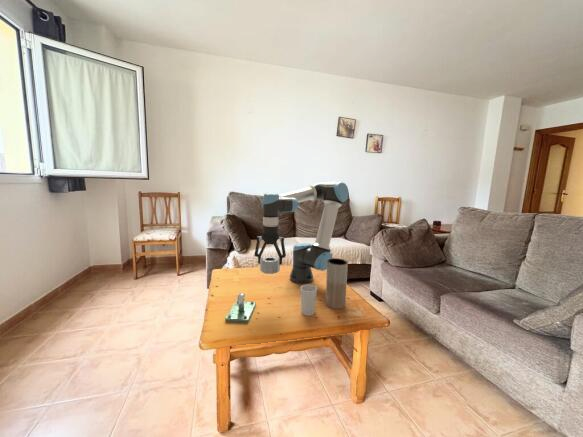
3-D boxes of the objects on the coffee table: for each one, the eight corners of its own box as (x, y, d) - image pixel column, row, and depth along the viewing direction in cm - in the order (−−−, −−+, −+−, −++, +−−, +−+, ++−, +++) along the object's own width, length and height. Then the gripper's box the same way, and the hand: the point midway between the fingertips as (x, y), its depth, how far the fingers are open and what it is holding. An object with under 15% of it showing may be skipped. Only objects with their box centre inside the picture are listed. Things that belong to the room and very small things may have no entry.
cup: (302, 317, 108) (303, 292, 106) (297, 308, 116) (298, 285, 114) (318, 315, 110) (319, 290, 109) (312, 306, 118) (313, 283, 116)
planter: (321, 304, 121) (323, 260, 118) (332, 297, 128) (334, 257, 125) (338, 311, 114) (340, 265, 111) (349, 304, 121) (351, 261, 118)
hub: (278, 268, 122) (279, 257, 121) (276, 274, 114) (277, 262, 113) (263, 267, 123) (263, 256, 122) (260, 273, 115) (260, 261, 114)
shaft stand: (255, 304, 118) (255, 287, 117) (247, 322, 103) (247, 303, 101) (236, 303, 119) (235, 286, 118) (225, 321, 103) (225, 302, 102)
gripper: (292, 224, 119) (291, 268, 121) (251, 223, 120) (251, 266, 123) (291, 227, 111) (290, 274, 114) (247, 225, 112) (247, 272, 115)
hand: (270, 270), depth 118 cm, fingers closed on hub, 8 cm apart
